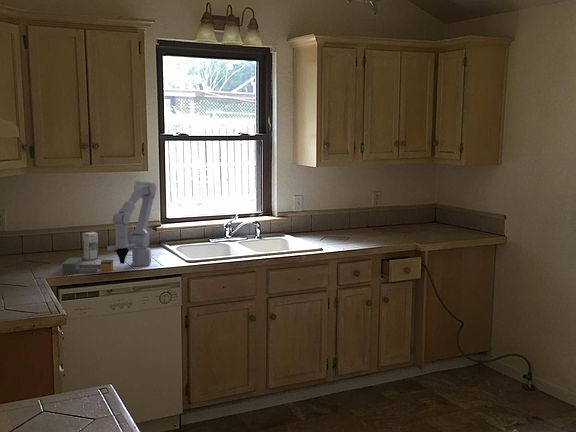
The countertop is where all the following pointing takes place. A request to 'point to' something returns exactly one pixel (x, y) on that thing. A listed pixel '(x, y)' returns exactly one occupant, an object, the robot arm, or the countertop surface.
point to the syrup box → (90, 245)
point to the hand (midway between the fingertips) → (122, 263)
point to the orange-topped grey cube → (106, 265)
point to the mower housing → (78, 266)
